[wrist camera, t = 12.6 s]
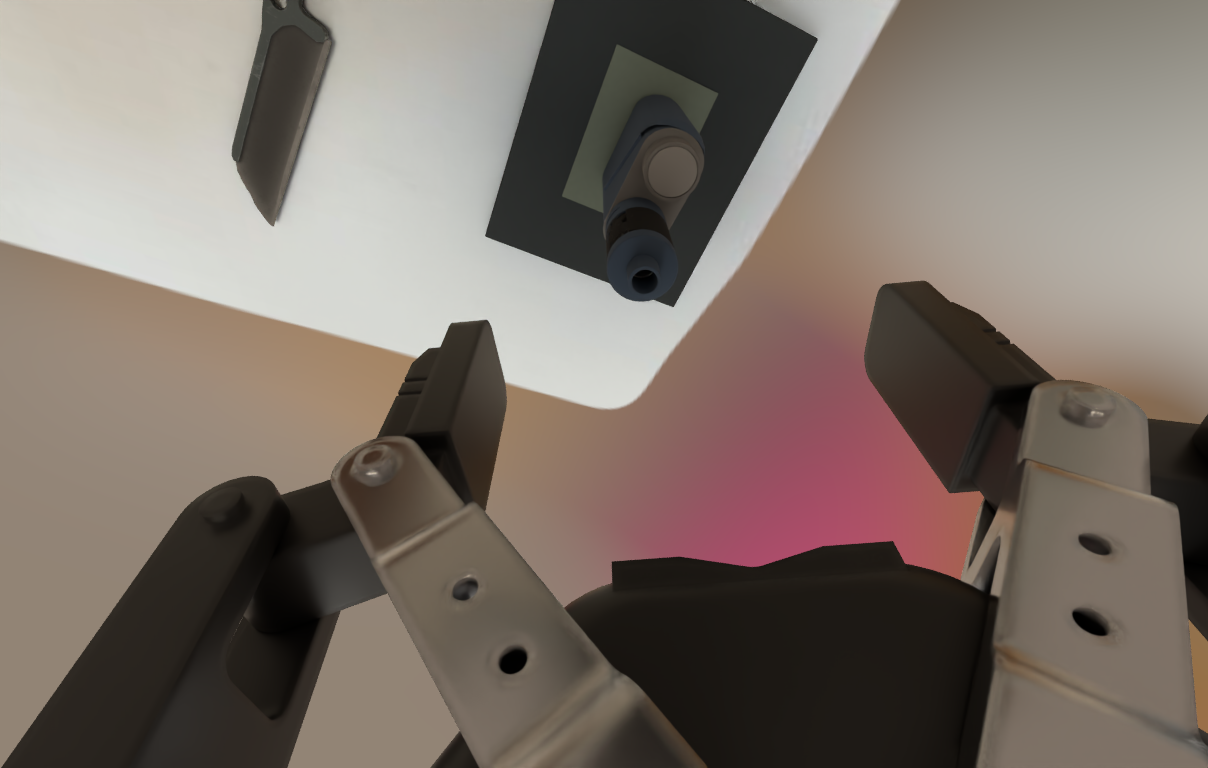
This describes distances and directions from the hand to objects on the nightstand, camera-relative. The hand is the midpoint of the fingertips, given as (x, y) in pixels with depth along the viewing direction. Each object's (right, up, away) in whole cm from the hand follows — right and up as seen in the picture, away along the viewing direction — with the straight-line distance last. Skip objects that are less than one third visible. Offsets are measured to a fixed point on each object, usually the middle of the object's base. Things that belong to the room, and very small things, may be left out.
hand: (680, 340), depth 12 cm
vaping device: (0, +10, +15) cm, 18 cm away
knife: (-15, +13, +13) cm, 24 cm away
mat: (0, +11, +15) cm, 18 cm away
